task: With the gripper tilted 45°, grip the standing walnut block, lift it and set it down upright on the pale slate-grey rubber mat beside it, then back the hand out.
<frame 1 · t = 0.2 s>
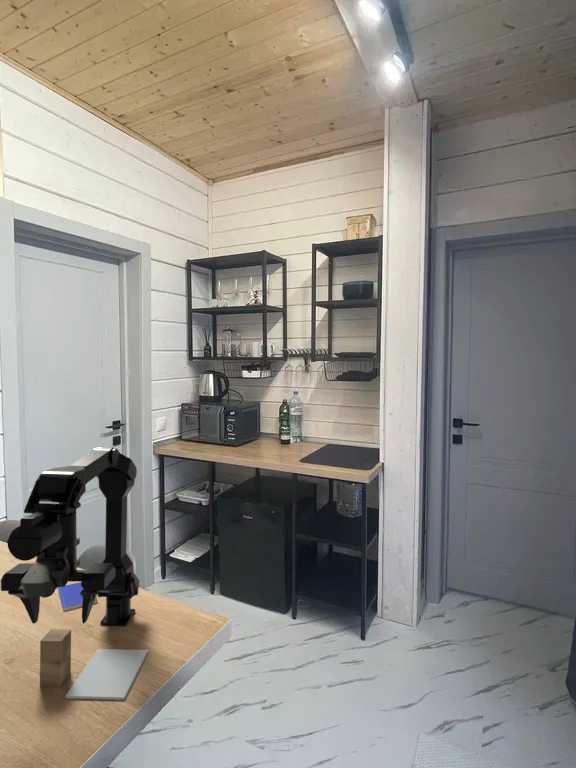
hand: (60, 622, 81), 15 cm above the table, tool pointing down, fingers open, 9 cm apart
walnut block: (55, 679, 87), on the table
mat: (109, 673, 89), on the table
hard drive: (77, 599, 119), on the table
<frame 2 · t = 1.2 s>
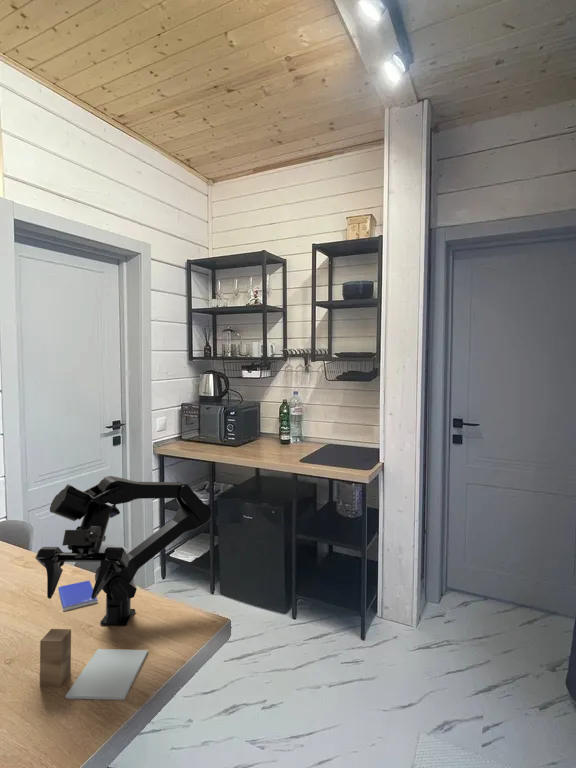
hand: (70, 598, 92), 13 cm above the table, tool tilted 45°, fingers open, 9 cm apart
nothing on the table moved.
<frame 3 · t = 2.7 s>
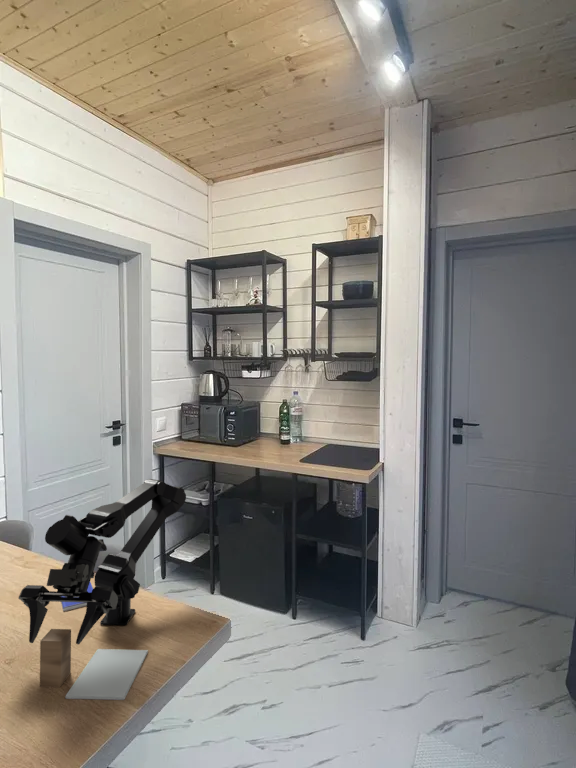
hand: (54, 643, 86), 8 cm above the table, tool tilted 45°, fingers open, 9 cm apart
nothing on the table moved.
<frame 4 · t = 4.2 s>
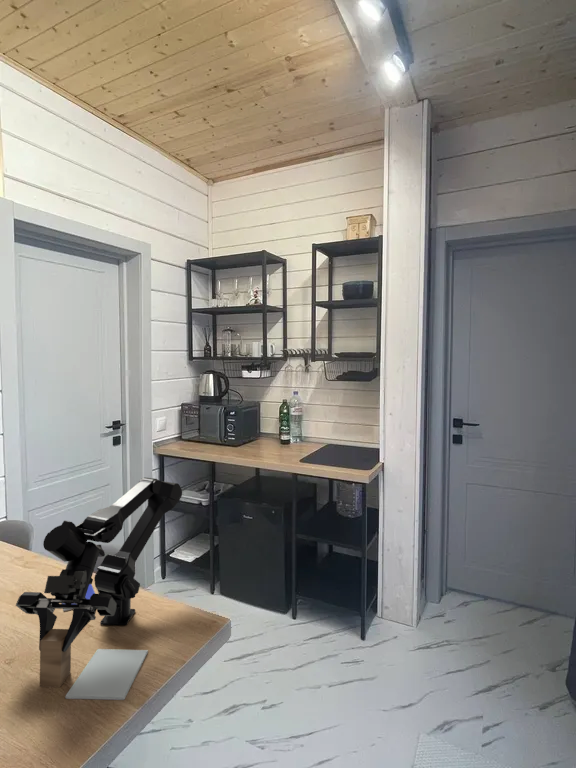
hand: (52, 651, 86), 7 cm above the table, tool tilted 45°, fingers closed on walnut block, 4 cm apart
walnut block: (55, 679, 87), on the table, touching gripper
everything else where it was.
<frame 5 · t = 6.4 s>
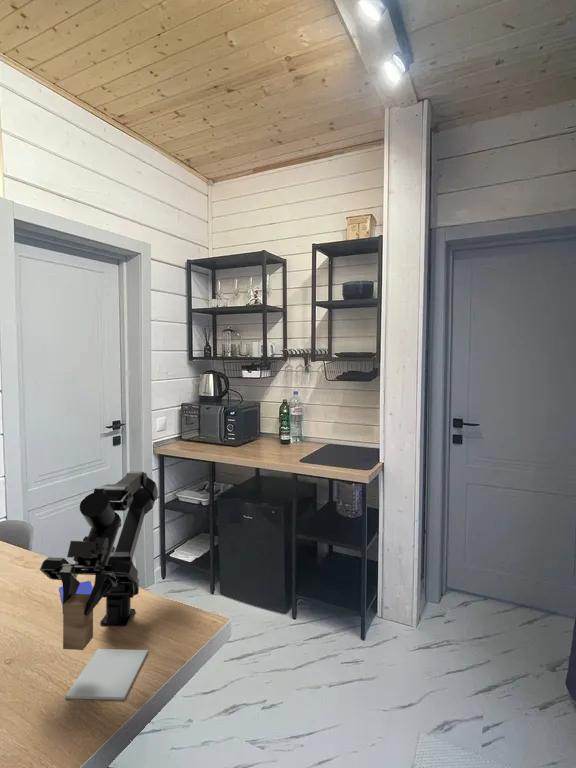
hand: (75, 614, 86), 13 cm above the table, tool tilted 45°, fingers closed on walnut block, 4 cm apart
walnut block: (78, 643, 88), point 7 cm above the table, touching gripper
everything else where it was.
when the fingers open (8 cm above the table, at t = 8.9 s): walnut block stays where it is, resting on mat.
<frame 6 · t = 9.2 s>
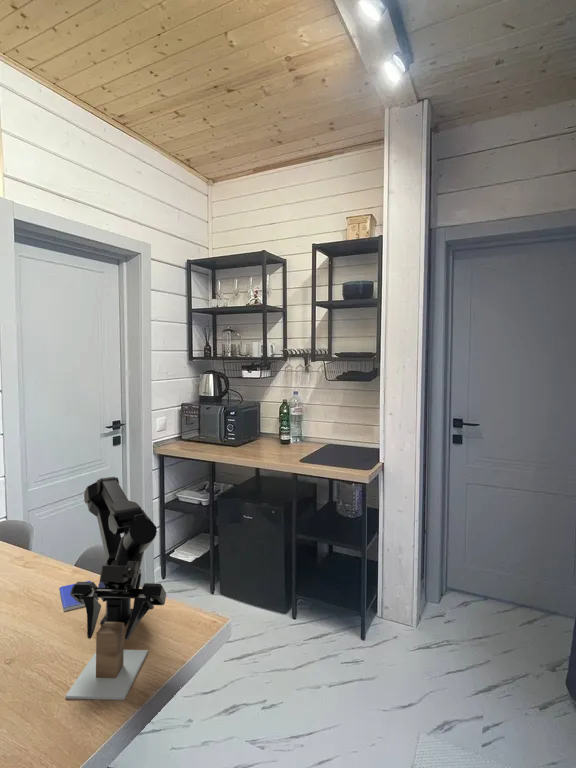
hand: (107, 638, 88), 8 cm above the table, tool tilted 45°, fingers open, 7 cm apart
walnut block: (109, 671, 89), resting on mat
everything else where it was.
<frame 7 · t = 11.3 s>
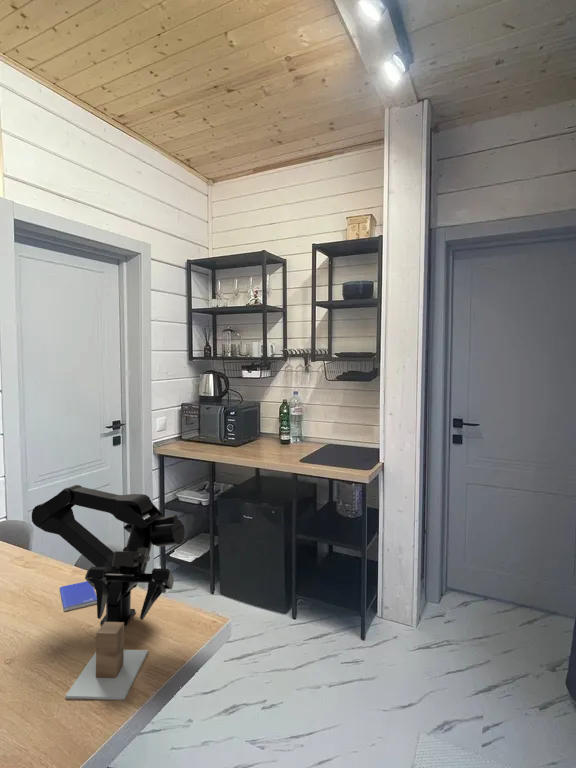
hand: (120, 618, 94), 8 cm above the table, tool tilted 45°, fingers open, 9 cm apart
nothing on the table moved.
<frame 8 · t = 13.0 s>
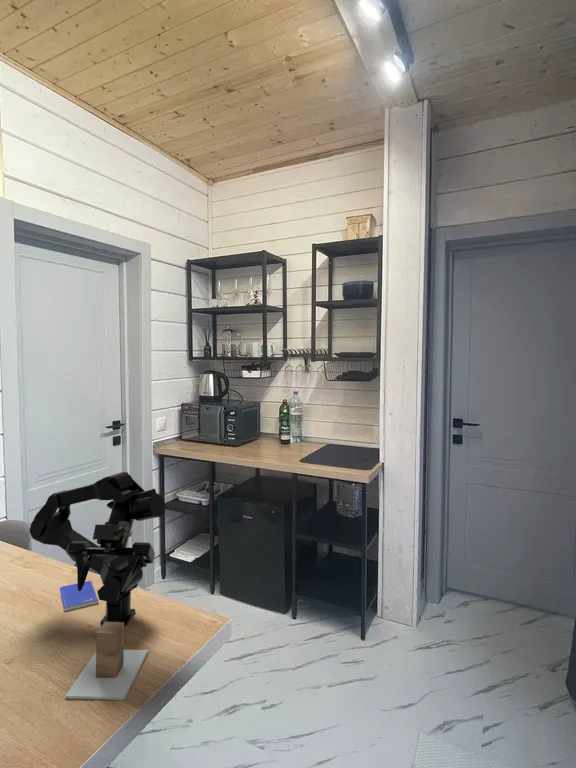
hand: (100, 591, 95), 14 cm above the table, tool tilted 45°, fingers open, 9 cm apart
nothing on the table moved.
at the end: walnut block inside the target area on the mat (0.0 cm from its centre), point 0.5 cm above the mat's base; walnut block tilted 0°; the gripper is holding nothing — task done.
